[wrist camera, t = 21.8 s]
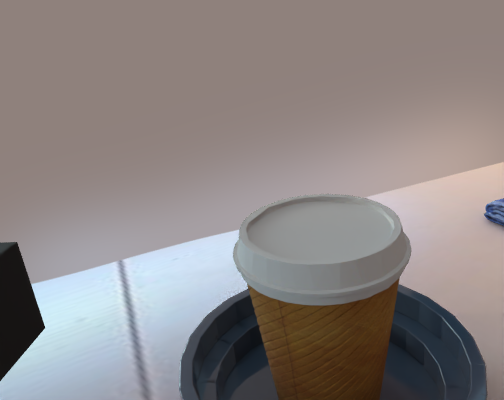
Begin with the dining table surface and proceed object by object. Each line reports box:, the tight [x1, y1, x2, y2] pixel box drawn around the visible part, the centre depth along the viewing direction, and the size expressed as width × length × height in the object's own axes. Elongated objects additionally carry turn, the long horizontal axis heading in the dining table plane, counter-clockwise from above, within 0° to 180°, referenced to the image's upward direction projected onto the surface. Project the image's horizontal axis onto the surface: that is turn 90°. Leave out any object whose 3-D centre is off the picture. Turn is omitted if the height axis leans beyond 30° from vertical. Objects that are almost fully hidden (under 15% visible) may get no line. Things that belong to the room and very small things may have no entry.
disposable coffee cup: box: [233, 194, 411, 400], centre depth 27 cm, size 10×10×12 cm
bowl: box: [179, 284, 487, 400], centre depth 29 cm, size 18×18×4 cm
